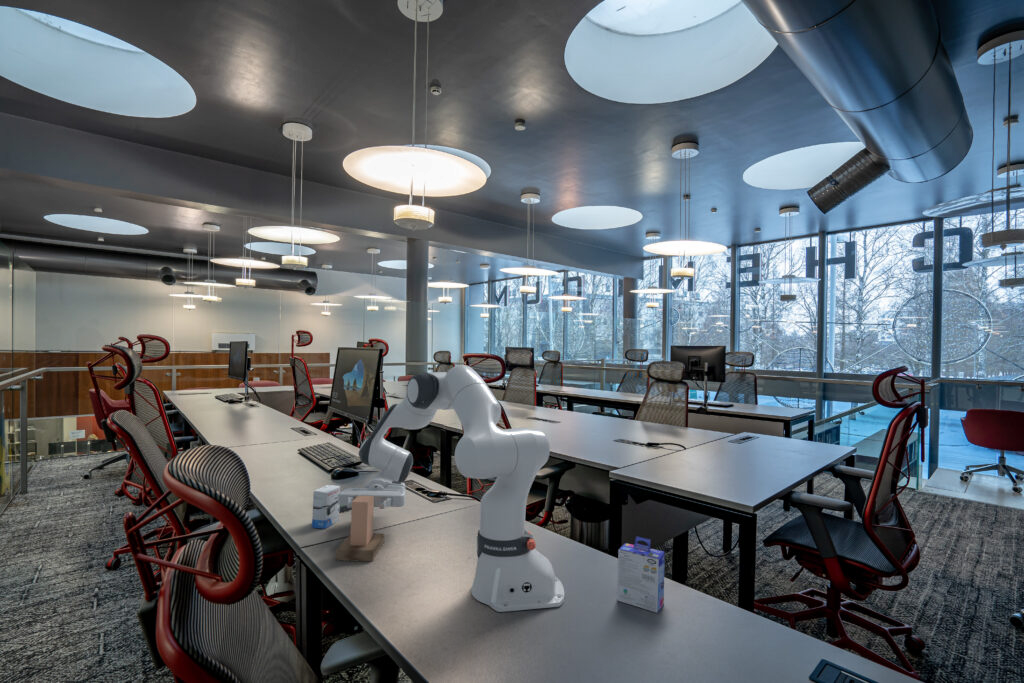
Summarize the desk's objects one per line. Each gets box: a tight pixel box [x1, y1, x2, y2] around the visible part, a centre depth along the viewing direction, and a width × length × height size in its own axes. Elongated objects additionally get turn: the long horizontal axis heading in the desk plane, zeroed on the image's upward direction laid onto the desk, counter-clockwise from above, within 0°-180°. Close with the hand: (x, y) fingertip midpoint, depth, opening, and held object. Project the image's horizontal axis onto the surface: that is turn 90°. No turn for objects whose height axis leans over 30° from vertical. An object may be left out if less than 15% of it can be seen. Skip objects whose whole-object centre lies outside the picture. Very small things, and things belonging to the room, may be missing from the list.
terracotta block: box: [350, 496, 375, 546], centre depth 134 cm, size 4×6×12 cm
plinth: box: [335, 532, 385, 562], centre depth 134 cm, size 10×12×3 cm
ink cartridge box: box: [616, 536, 666, 613], centre depth 110 cm, size 10×6×14 cm, turn 58°
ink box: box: [311, 484, 341, 530], centre depth 155 cm, size 8×5×12 cm, turn 168°
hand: (365, 505), depth 138 cm, fingers open, 8 cm apart
